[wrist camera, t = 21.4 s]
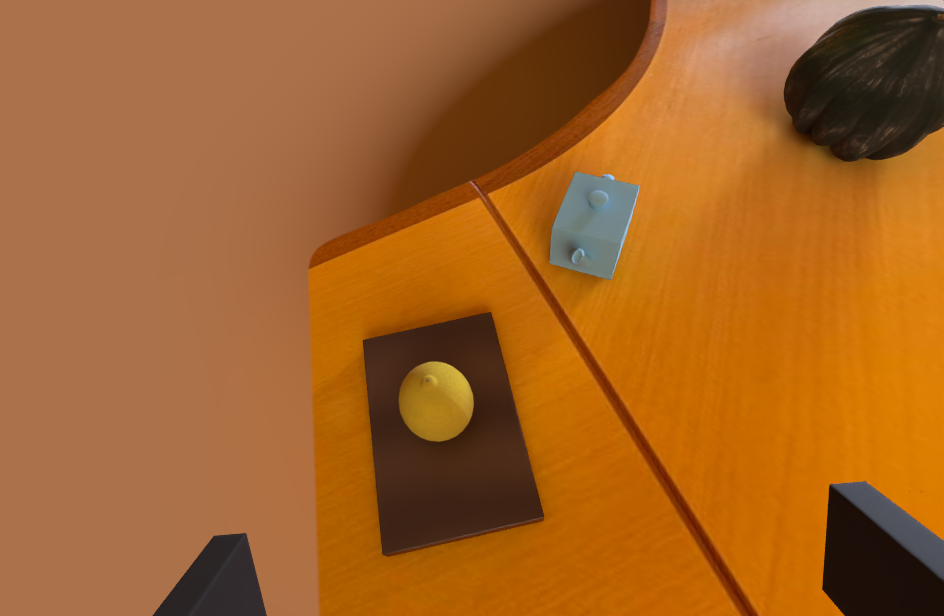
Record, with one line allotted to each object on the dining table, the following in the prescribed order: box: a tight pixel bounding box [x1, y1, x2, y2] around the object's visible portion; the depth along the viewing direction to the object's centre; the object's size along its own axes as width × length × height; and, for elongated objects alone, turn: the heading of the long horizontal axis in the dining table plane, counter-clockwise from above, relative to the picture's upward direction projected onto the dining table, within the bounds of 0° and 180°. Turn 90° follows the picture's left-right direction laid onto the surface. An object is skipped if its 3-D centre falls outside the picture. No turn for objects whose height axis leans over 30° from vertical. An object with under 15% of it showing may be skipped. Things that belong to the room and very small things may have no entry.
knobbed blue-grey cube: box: [549, 172, 640, 280], centre depth 46 cm, size 12×6×8 cm, turn 157°
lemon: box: [399, 362, 474, 442], centre depth 37 cm, size 6×6×8 cm
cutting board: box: [363, 312, 544, 557], centre depth 41 cm, size 18×12×2 cm, turn 11°
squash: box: [784, 5, 944, 162], centre depth 50 cm, size 14×15×15 cm
